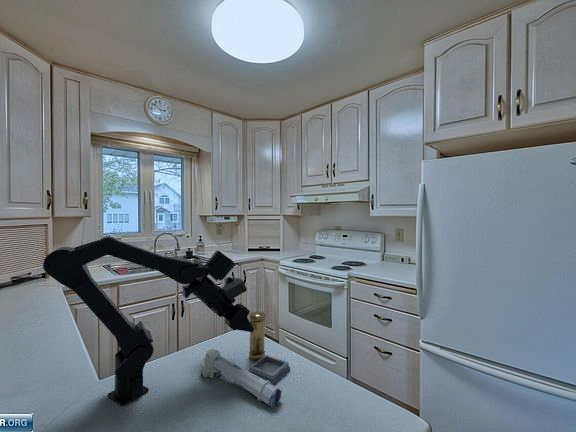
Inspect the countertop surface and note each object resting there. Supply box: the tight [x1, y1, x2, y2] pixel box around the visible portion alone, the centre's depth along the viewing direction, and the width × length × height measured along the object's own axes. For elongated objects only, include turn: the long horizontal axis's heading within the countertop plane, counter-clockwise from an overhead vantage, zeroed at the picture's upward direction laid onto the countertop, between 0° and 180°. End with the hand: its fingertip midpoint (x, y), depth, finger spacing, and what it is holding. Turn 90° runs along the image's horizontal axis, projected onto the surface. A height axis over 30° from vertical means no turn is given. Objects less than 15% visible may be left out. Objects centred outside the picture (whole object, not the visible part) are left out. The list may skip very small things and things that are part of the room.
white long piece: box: [200, 348, 282, 408], centre depth 70 cm, size 5×7×25 cm
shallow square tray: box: [248, 354, 291, 386], centre depth 76 cm, size 8×8×2 cm
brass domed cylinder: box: [248, 311, 267, 362], centre depth 84 cm, size 5×5×13 cm
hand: (246, 325), depth 82 cm, fingers open, 9 cm apart
